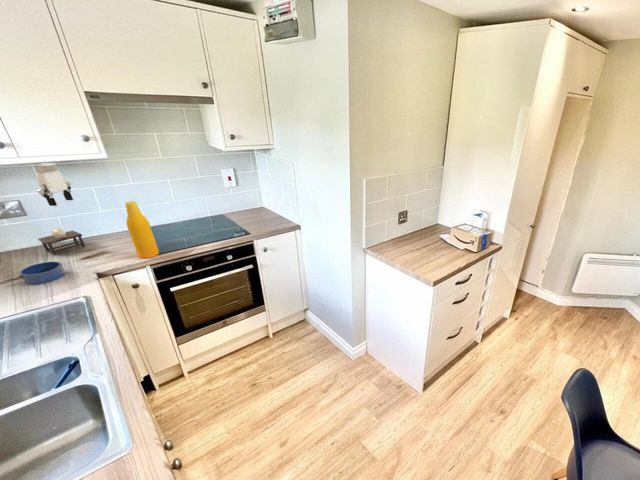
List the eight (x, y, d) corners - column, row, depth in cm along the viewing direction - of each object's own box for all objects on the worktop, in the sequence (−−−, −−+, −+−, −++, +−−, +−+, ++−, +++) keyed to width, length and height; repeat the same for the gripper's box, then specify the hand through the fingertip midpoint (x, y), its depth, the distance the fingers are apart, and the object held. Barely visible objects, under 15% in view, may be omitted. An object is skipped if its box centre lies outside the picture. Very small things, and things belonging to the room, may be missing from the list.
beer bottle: (134, 258, 168) (113, 204, 154) (146, 251, 176) (127, 199, 163) (152, 259, 168) (133, 205, 155) (163, 251, 177) (146, 200, 163)
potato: (57, 239, 164) (54, 231, 162) (51, 236, 167) (47, 228, 165) (68, 236, 167) (65, 228, 165) (62, 233, 170) (58, 225, 168)
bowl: (32, 287, 140) (26, 277, 138) (20, 279, 145) (14, 270, 143) (71, 275, 151) (66, 265, 148) (58, 268, 156) (53, 259, 154)
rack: (54, 259, 164) (46, 243, 160) (46, 254, 168) (37, 238, 164) (88, 249, 175) (81, 234, 171) (79, 245, 179) (72, 230, 175)
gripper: (53, 165, 165) (68, 198, 173) (20, 172, 150) (38, 207, 158) (69, 165, 166) (83, 198, 173) (38, 172, 150) (54, 208, 158)
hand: (61, 202), depth 166 cm, fingers open, 9 cm apart
